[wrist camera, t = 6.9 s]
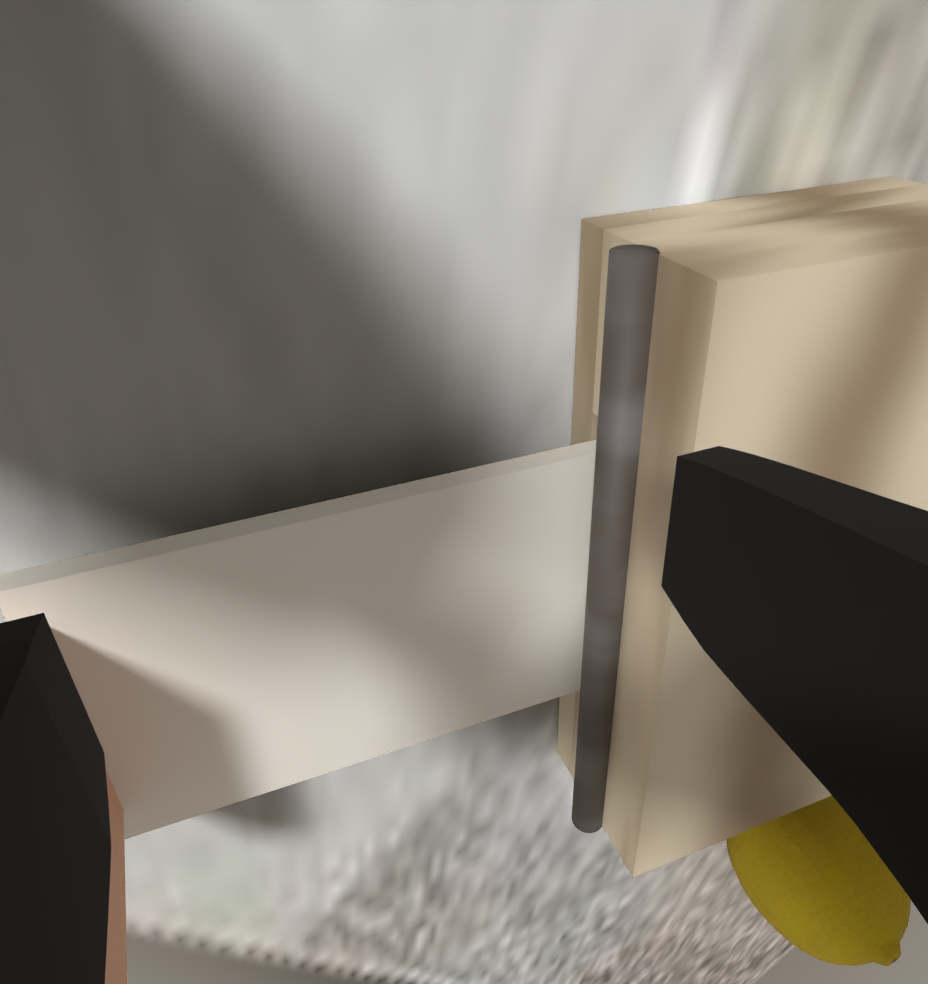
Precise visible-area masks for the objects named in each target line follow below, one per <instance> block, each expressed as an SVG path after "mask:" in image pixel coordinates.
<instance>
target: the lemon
mask: <svg viewBox="0 0 928 984" xmlns="http://www.w3.org/2000/svg"><path fill="white" fill-rule="evenodd" d="M727 848H728V853H729V857H730V861H731V863H732V866H733V868H734V871H735V873H736V875H737V877H738V879H739V881H740V883H741V885H742V887H743V889H744V890H745V892H746V894H747V896H748V897H749V898H750V900H751V901H752V903H753V904H754V906H755V907H756V908H757V909H758V911H759V912H760V913H761V914H762V915H763V917H764V918H765V919H766V920H767V921H768V922H769V923H770V924H771V925H772V926H773V927H774V928H775V929H776V930H777V931H778V932H779V933H780V934H781V935H782V936H784V937H785V938H786V939H787V940H788V941H790V942H791V943H792V944H793V945H795V946H796V947H798V948H799V949H801V950H802V951H804V952H805V953H807V954H809V955H811V956H813V957H815V958H817V959H819V960H822V961H825V962H828V963H833V964H838V965H854V966H856V965H863V964H868V963H872V962H875V963H878V964H881V965H884V966H888V965H890V964H892V963H893V962H895V961H896V960H897V959H898V958H899V957H900V955H901V952H900V941H901V939H902V937H903V935H904V933H905V930H906V928H907V925H908V921H909V915H910V902H911V899H910V897H909V896H908V895H907V893H906V892H905V891H904V889H903V888H902V887H901V885H900V884H899V882H898V881H897V880H896V878H895V877H894V876H893V874H892V873H891V872H890V870H889V869H888V867H887V866H886V865H885V863H884V862H883V861H882V859H881V858H880V857H879V855H878V854H877V852H876V851H875V850H874V848H873V847H872V846H871V844H870V843H869V842H868V840H867V839H866V838H865V836H864V835H863V833H862V832H861V831H860V829H859V828H858V827H857V825H856V824H855V823H854V821H853V820H852V819H851V818H850V817H849V815H848V814H847V813H846V812H845V811H844V809H843V808H842V807H841V806H840V805H839V803H838V802H837V801H836V800H835V798H834V797H833V796H829V797H827V798H824V799H822V800H820V801H817V802H815V803H812V804H810V805H807V806H805V807H803V808H800V809H798V810H795V811H793V812H790V813H788V814H786V815H783V816H781V817H778V818H776V819H773V820H771V821H769V822H766V823H764V824H761V825H759V826H756V827H754V828H752V829H749V830H747V831H744V832H742V833H740V834H737V835H735V836H732V837H730V838H727Z"/></svg>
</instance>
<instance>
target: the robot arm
mask: <svg viewBox="0 0 928 984" xmlns="http://www.w3.org/2000/svg"><path fill="white" fill-rule="evenodd" d="M661 587H662V588H663V590H664V591H665V593H666V594H667V596H668V598H669V599H670V601H671V602H672V604H673V605H674V607H675V609H676V610H677V612H678V613H679V615H680V616H681V618H682V620H683V621H684V623H685V624H686V625H687V627H688V628H689V630H690V631H691V633H692V634H693V635H694V637H695V638H696V640H697V641H698V643H699V644H700V646H701V647H702V648H703V650H704V651H705V652H706V653H707V655H708V656H709V657H710V658H711V659H712V660H713V662H714V663H715V664H716V665H717V666H718V667H719V669H720V670H721V671H722V672H723V673H724V674H725V675H726V677H727V678H728V679H729V680H730V681H731V682H732V683H733V685H734V686H735V687H736V688H737V689H738V690H739V691H740V693H741V694H742V695H743V696H744V697H745V698H746V699H747V701H748V702H749V703H750V704H751V705H752V706H753V707H754V708H755V709H756V711H757V712H758V713H759V714H760V715H761V716H762V717H763V718H764V720H765V721H766V722H767V723H768V724H769V725H770V726H771V727H772V728H773V730H774V731H775V732H776V733H777V734H778V735H779V736H780V737H781V739H782V740H783V741H784V742H785V743H786V744H787V745H788V746H789V747H790V749H791V750H792V751H793V752H794V753H795V754H796V755H797V756H798V758H799V759H800V760H801V761H802V762H803V763H804V764H805V765H806V766H807V768H808V769H809V770H810V771H811V772H812V773H813V774H814V775H815V777H816V778H817V779H818V780H819V781H820V782H821V783H822V784H823V785H824V787H825V788H826V789H827V790H828V791H829V792H830V794H831V795H832V796H833V797H834V798H835V800H836V801H837V802H838V803H839V805H840V806H841V807H842V808H843V809H844V811H845V812H846V813H847V814H848V815H849V817H850V818H851V819H852V820H853V821H854V823H855V824H856V825H857V827H858V828H859V829H860V831H861V832H862V833H863V835H864V836H865V838H866V839H867V840H868V842H869V843H870V844H871V846H872V847H873V848H874V850H875V851H876V852H877V854H878V855H879V857H880V858H881V859H882V861H883V862H884V863H885V865H886V866H887V867H888V869H889V870H890V872H891V873H892V874H893V876H894V877H895V878H896V880H897V881H898V882H899V884H900V885H901V887H902V888H903V889H904V891H905V892H906V893H907V895H908V896H909V897H910V899H911V900H912V902H913V903H914V905H915V906H916V908H917V909H918V910H919V912H920V913H921V915H922V916H923V918H924V919H925V921H926V922H927V923H928V511H926V510H923V509H920V508H917V507H914V506H911V505H908V504H905V503H901V502H898V501H895V500H892V499H889V498H886V497H883V496H880V495H877V494H874V493H871V492H868V491H865V490H862V489H859V488H856V487H853V486H850V485H847V484H844V483H841V482H838V481H835V480H832V479H829V478H826V477H823V476H820V475H817V474H814V473H811V472H808V471H805V470H802V469H799V468H796V467H793V466H790V465H786V464H783V463H780V462H777V461H774V460H770V459H767V458H764V457H760V456H757V455H754V454H750V453H746V452H743V451H739V450H735V449H730V448H726V447H722V446H717V447H713V448H709V449H705V450H701V451H696V452H692V453H688V454H684V455H680V456H677V461H676V469H675V477H674V485H673V493H672V502H671V510H670V518H669V526H668V534H667V542H666V551H665V559H664V567H663V575H662V583H661ZM110 869H111V832H110V817H109V802H108V791H107V779H106V767H105V756H104V751H103V748H102V746H101V744H100V742H99V739H98V737H97V735H96V732H95V730H94V728H93V725H92V723H91V721H90V718H89V716H88V714H87V711H86V709H85V707H84V704H83V702H82V700H81V698H80V695H79V693H78V691H77V688H76V686H75V684H74V681H73V679H72V677H71V674H70V672H69V670H68V667H67V665H66V663H65V661H64V658H63V656H62V654H61V651H60V649H59V647H58V644H57V642H56V640H55V637H54V635H53V633H52V630H51V628H50V626H49V624H48V621H47V619H46V617H45V614H44V613H40V614H36V615H32V616H28V617H24V618H20V619H16V620H12V621H8V622H4V623H0V984H105V970H106V951H107V932H108V912H109V891H110Z"/></svg>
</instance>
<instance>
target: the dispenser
mask: <svg viewBox="0 0 928 984" xmlns="http://www.w3.org/2000/svg"><path fill="white" fill-rule="evenodd" d="M592 440H597V441H596V456H595V471H594V487H593V502H592V517H591V532H590V547H589V563H588V578H587V593H586V608H585V624H584V639H583V654H582V669H581V685H580V691H576V692H573V693H570V694H567V695H564V696H561V697H560V698H559V720H558V742H557V752H558V753H559V755H560V757H561V758H562V760H563V762H564V763H565V765H566V767H567V768H568V770H569V772H570V773H571V775H572V777H573V778H574V791H573V806H572V821H573V824H574V825H575V827H576V828H577V829H579V830H580V831H582V832H586V833H593V832H596V831H598V830H599V829H600V828H601V827H603V828H604V830H605V832H606V833H607V835H608V837H609V838H610V840H611V842H612V843H613V845H614V847H615V848H616V850H617V851H618V853H619V855H620V856H621V858H622V860H623V861H624V863H625V865H626V866H627V868H628V870H629V871H630V873H631V875H632V876H633V877H635V876H638V875H640V874H642V873H645V872H647V871H650V870H652V869H655V868H657V867H659V866H662V865H664V864H667V863H669V862H672V861H674V860H676V859H679V858H681V857H684V856H686V855H689V854H691V853H693V852H696V851H698V850H701V849H703V848H706V847H708V846H710V845H713V844H715V843H718V842H720V841H723V840H725V839H727V838H730V837H732V836H735V835H737V834H740V833H742V832H744V831H747V830H749V829H752V828H754V827H756V826H759V825H761V824H764V823H766V822H769V821H771V820H773V819H776V818H778V817H781V816H783V815H786V814H788V813H790V812H793V811H795V810H798V809H800V808H803V807H805V806H807V805H810V804H812V803H815V802H817V801H820V800H822V799H824V798H827V797H829V796H832V795H831V794H830V792H829V791H828V790H827V789H826V788H825V787H824V785H823V784H822V783H821V782H820V781H819V780H818V779H817V778H816V777H815V775H814V774H813V773H812V772H811V771H810V770H809V769H808V768H807V766H806V765H805V764H804V763H803V762H802V761H801V760H800V759H799V758H798V756H797V755H796V754H795V753H794V752H793V751H792V750H791V749H790V747H789V746H788V745H787V744H786V743H785V742H784V741H783V740H782V739H781V737H780V736H779V735H778V734H777V733H776V732H775V731H774V730H773V728H772V727H771V726H770V725H769V724H768V723H767V722H766V721H765V720H764V718H763V717H762V716H761V715H760V714H759V713H758V712H757V711H756V709H755V708H754V707H753V706H752V705H751V704H750V703H749V702H748V701H747V699H746V698H745V697H744V696H743V695H742V694H741V693H740V691H739V690H738V689H737V688H736V687H735V686H734V685H733V683H732V682H731V681H730V680H729V679H728V678H727V677H726V675H725V674H724V673H723V672H722V671H721V670H720V669H719V667H718V666H717V665H716V664H715V663H714V662H713V660H712V659H711V658H710V657H709V656H708V655H707V653H706V652H705V651H704V650H703V648H702V647H701V646H700V644H699V643H698V641H697V640H696V638H695V637H694V635H693V634H692V633H691V631H690V630H689V628H688V627H687V625H686V624H685V623H684V621H683V620H682V618H681V616H680V615H679V613H678V612H677V610H676V609H675V607H674V605H673V604H672V602H671V601H670V599H669V598H668V596H667V594H666V593H665V591H664V590H663V588H662V587H661V583H662V575H663V567H664V559H665V551H666V542H667V534H668V526H669V518H670V510H671V502H672V493H673V485H674V477H675V469H676V461H677V456H680V455H684V454H688V453H692V452H696V451H701V450H705V449H709V448H713V447H717V446H722V447H726V448H730V449H735V450H739V451H743V452H746V453H750V454H754V455H757V456H760V457H764V458H767V459H770V460H774V461H777V462H780V463H783V464H786V465H790V466H793V467H796V468H799V469H802V470H805V471H808V472H811V473H814V474H817V475H820V476H823V477H826V478H829V479H832V480H835V481H838V482H841V483H844V484H847V485H850V486H853V487H856V488H859V489H862V490H865V491H868V492H871V493H874V494H877V495H880V496H883V497H886V498H889V499H892V500H895V501H898V502H901V503H905V504H908V505H911V506H914V507H917V508H920V509H923V510H926V511H928V185H926V184H922V183H917V182H913V181H908V180H904V179H899V178H895V177H889V178H881V179H874V180H866V181H859V182H852V183H844V184H837V185H829V186H822V187H815V188H807V189H800V190H792V191H785V192H778V193H770V194H763V195H756V196H748V197H741V198H733V199H726V200H719V201H711V202H704V203H696V204H689V205H682V206H674V207H667V208H659V209H652V210H645V211H637V212H630V213H622V214H615V215H608V216H600V217H593V218H585V219H582V221H581V242H580V264H579V286H578V307H577V329H576V351H575V373H574V394H573V416H572V438H571V445H575V444H579V443H583V442H588V441H592Z"/></svg>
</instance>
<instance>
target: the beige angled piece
mask: <svg viewBox="0 0 928 984" xmlns="http://www.w3.org/2000/svg"><path fill="white" fill-rule="evenodd" d="M596 441H597V440H592V441H588V442H583V443H579V444H575V445H570V446H566V447H561V448H557V449H553V450H548V451H544V452H539V453H535V454H530V455H526V456H522V457H517V458H513V459H508V460H504V461H500V462H495V463H491V464H486V465H482V466H477V467H473V468H469V469H464V470H460V471H455V472H451V473H447V474H442V475H438V476H433V477H429V478H424V479H420V480H416V481H411V482H407V483H402V484H398V485H394V486H389V487H385V488H380V489H376V490H371V491H367V492H363V493H358V494H354V495H349V496H345V497H341V498H336V499H332V500H327V501H323V502H318V503H314V504H310V505H305V506H301V507H296V508H292V509H288V510H283V511H279V512H274V513H270V514H265V515H261V516H257V517H252V518H248V519H243V520H239V521H235V522H230V523H226V524H221V525H217V526H212V527H208V528H204V529H199V530H195V531H190V532H186V533H182V534H177V535H173V536H168V537H164V538H159V539H155V540H151V541H146V542H142V543H137V544H133V545H129V546H124V547H120V548H115V549H111V550H106V551H102V552H98V553H93V554H89V555H84V556H80V557H76V558H71V559H67V560H62V561H58V562H53V563H49V564H45V565H40V566H36V567H31V568H27V569H23V570H18V571H14V572H9V573H5V574H0V609H1V611H2V613H3V615H4V617H5V619H6V622H8V621H12V620H16V619H20V618H24V617H28V616H32V615H36V614H40V613H44V614H45V617H46V619H47V621H48V624H49V626H50V628H51V630H52V633H53V635H54V637H55V640H56V642H57V644H58V647H59V649H60V651H61V654H62V656H63V658H64V661H65V663H66V665H67V667H68V670H69V672H70V674H71V677H72V679H73V681H74V684H75V686H76V688H77V691H78V693H79V695H80V698H81V700H82V702H83V704H84V707H85V709H86V711H87V714H88V716H89V718H90V721H91V723H92V725H93V728H94V730H95V732H96V735H97V737H98V739H99V742H100V744H101V746H102V748H103V751H104V756H105V767H106V779H107V791H108V802H109V817H110V832H111V869H110V891H109V912H108V932H107V951H106V970H105V984H127V957H126V956H127V955H126V954H127V953H126V905H125V856H124V839H127V838H130V837H133V836H136V835H139V834H142V833H145V832H148V831H151V830H154V829H158V828H161V827H164V826H167V825H170V824H173V823H176V822H179V821H182V820H185V819H188V818H191V817H194V816H197V815H200V814H203V813H206V812H210V811H213V810H216V809H219V808H222V807H225V806H228V805H231V804H234V803H237V802H240V801H243V800H246V799H249V798H252V797H255V796H258V795H262V794H265V793H268V792H271V791H274V790H277V789H280V788H283V787H286V786H289V785H292V784H295V783H298V782H301V781H304V780H307V779H310V778H313V777H317V776H320V775H323V774H326V773H329V772H332V771H335V770H338V769H341V768H344V767H347V766H350V765H353V764H356V763H359V762H362V761H365V760H369V759H372V758H375V757H378V756H381V755H384V754H387V753H390V752H393V751H396V750H399V749H402V748H405V747H408V746H411V745H414V744H417V743H421V742H424V741H427V740H430V739H433V738H436V737H439V736H442V735H445V734H448V733H451V732H454V731H457V730H460V729H463V728H466V727H469V726H473V725H476V724H479V723H482V722H485V721H488V720H491V719H494V718H497V717H500V716H503V715H506V714H509V713H512V712H515V711H518V710H521V709H525V708H528V707H531V706H534V705H537V704H540V703H543V702H546V701H549V700H552V699H555V698H558V697H561V696H564V695H567V694H570V693H573V692H576V691H580V685H581V669H582V654H583V639H584V624H585V608H586V593H587V578H588V563H589V547H590V532H591V517H592V502H593V487H594V471H595V456H596Z"/></svg>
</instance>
